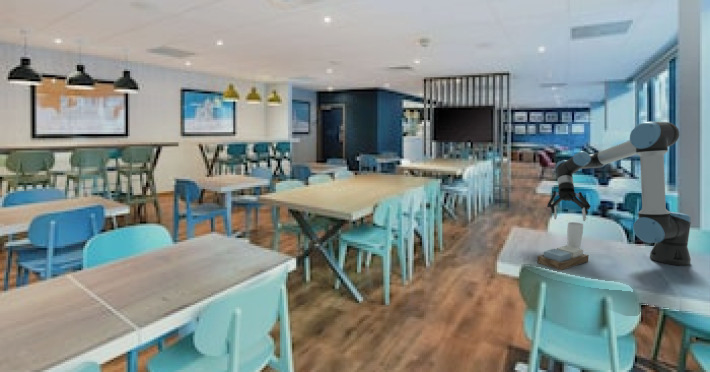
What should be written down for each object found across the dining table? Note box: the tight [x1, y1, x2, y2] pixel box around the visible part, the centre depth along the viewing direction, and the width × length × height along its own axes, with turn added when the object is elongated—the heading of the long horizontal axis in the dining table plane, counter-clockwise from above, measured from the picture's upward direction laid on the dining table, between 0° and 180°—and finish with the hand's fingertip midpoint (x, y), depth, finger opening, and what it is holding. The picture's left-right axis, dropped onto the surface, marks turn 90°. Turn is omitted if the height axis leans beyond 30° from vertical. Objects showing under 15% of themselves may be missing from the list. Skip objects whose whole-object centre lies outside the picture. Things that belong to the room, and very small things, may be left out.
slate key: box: [543, 248, 571, 262], centre depth 186 cm, size 8×8×3 cm
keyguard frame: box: [537, 253, 589, 271], centre depth 189 cm, size 12×22×3 cm, turn 122°
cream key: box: [556, 244, 584, 258], centre depth 191 cm, size 8×8×3 cm
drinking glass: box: [566, 221, 584, 249], centre depth 201 cm, size 7×7×15 cm
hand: (570, 218), depth 209 cm, fingers open, 13 cm apart
